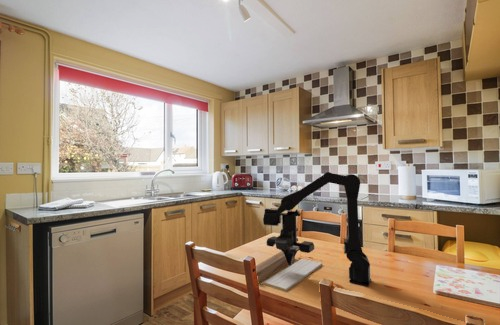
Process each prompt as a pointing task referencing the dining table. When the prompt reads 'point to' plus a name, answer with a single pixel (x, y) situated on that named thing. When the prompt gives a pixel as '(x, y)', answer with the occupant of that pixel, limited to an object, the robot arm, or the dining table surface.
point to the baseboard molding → (292, 274)
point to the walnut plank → (270, 266)
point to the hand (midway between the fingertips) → (290, 265)
